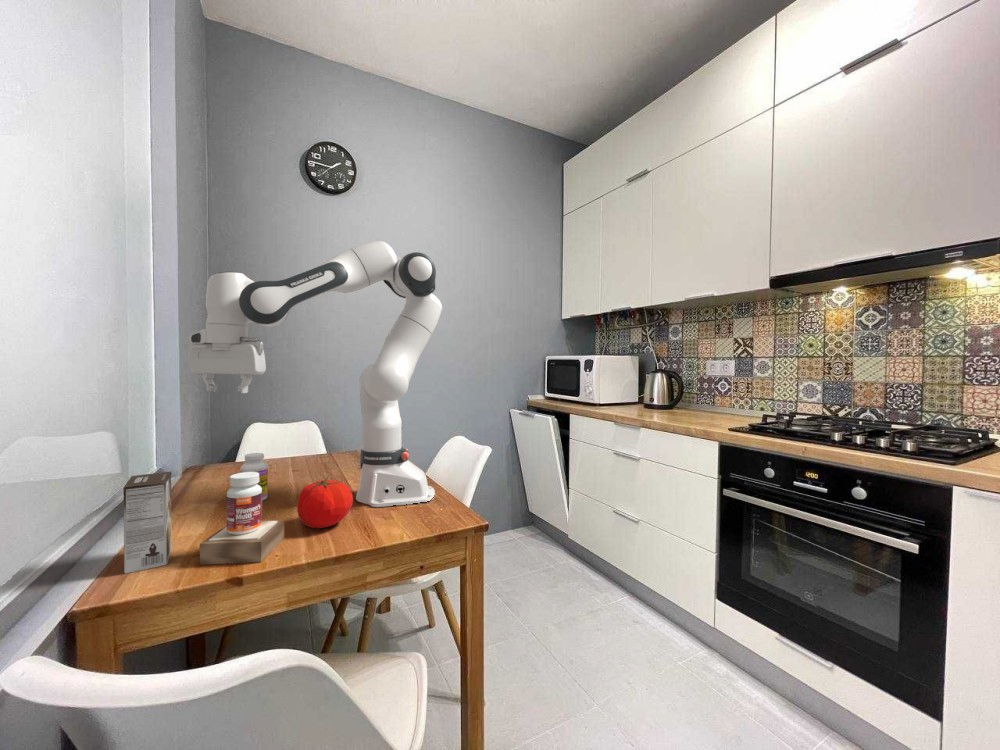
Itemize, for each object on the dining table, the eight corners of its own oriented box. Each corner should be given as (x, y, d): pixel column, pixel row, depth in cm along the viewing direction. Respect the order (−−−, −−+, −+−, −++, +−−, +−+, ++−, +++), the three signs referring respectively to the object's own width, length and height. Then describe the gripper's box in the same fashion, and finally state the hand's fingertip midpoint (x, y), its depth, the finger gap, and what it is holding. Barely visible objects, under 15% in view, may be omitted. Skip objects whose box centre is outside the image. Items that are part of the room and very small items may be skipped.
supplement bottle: (258, 504, 112) (258, 457, 111) (234, 503, 112) (234, 457, 111) (272, 496, 118) (272, 452, 118) (250, 495, 118) (250, 451, 118)
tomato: (302, 516, 103) (302, 475, 103) (354, 512, 106) (354, 472, 106) (290, 538, 90) (291, 490, 90) (350, 532, 94) (350, 487, 93)
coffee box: (131, 555, 81) (130, 475, 81) (172, 547, 85) (172, 470, 85) (122, 574, 74) (122, 486, 73) (168, 565, 77) (168, 481, 77)
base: (284, 538, 90) (284, 519, 90) (261, 562, 79) (261, 540, 79) (230, 540, 89) (230, 520, 89) (199, 564, 78) (199, 542, 78)
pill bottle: (236, 538, 80) (236, 480, 79) (220, 531, 83) (220, 475, 83) (267, 527, 85) (268, 473, 85) (252, 521, 88) (252, 469, 88)
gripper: (272, 338, 103) (272, 392, 103) (206, 338, 107) (206, 390, 108) (251, 336, 97) (251, 394, 97) (182, 336, 101) (182, 392, 102)
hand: (227, 392), depth 102 cm, fingers open, 8 cm apart
